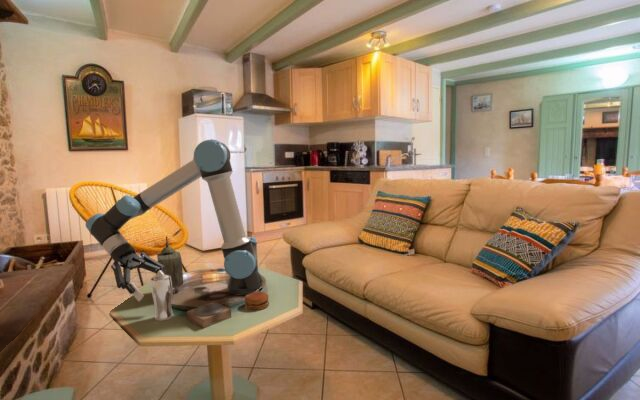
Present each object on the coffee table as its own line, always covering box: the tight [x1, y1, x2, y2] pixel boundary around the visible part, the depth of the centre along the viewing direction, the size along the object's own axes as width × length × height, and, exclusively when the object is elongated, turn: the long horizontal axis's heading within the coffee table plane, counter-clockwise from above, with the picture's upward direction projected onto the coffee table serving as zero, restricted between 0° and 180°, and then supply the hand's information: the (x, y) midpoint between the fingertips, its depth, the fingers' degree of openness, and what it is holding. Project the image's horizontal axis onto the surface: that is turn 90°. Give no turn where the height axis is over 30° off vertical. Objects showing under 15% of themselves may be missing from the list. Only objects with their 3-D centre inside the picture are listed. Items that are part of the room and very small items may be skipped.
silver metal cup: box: [150, 275, 174, 322], centre depth 130 cm, size 7×7×15 cm
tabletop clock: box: [156, 236, 184, 294], centre depth 153 cm, size 14×9×25 cm, turn 25°
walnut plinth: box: [186, 301, 232, 329], centre depth 129 cm, size 11×11×3 cm
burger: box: [244, 291, 270, 311], centre depth 139 cm, size 10×9×5 cm
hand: (155, 291), depth 130 cm, fingers open, 13 cm apart
